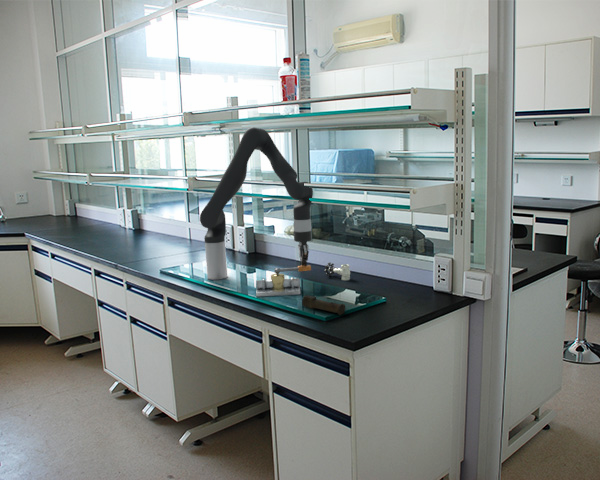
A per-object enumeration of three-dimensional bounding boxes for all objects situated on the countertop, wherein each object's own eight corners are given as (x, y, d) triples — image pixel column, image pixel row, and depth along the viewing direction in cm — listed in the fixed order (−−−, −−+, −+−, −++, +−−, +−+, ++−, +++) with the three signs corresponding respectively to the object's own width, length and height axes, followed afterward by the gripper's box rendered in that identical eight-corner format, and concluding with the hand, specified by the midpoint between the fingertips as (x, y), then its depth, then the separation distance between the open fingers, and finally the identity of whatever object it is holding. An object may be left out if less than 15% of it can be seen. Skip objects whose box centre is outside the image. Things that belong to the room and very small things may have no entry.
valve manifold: (257, 288, 235) (256, 270, 234) (299, 286, 235) (298, 268, 234) (256, 296, 223) (255, 277, 222) (300, 294, 224) (299, 275, 222)
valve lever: (275, 273, 226) (274, 269, 226) (274, 272, 229) (274, 267, 228) (311, 270, 229) (310, 266, 228) (310, 269, 231) (309, 264, 231)
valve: (354, 278, 244) (333, 274, 253) (353, 264, 243) (333, 260, 251) (344, 281, 240) (324, 277, 248) (344, 267, 238) (323, 263, 247)
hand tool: (346, 313, 198) (345, 301, 197) (339, 316, 195) (338, 304, 194) (307, 304, 211) (307, 292, 210) (300, 307, 208) (299, 295, 207)
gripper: (314, 231, 226) (315, 272, 229) (308, 226, 238) (310, 265, 242) (296, 232, 224) (297, 273, 228) (291, 227, 237) (293, 266, 241)
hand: (304, 269), depth 235 cm, fingers closed
